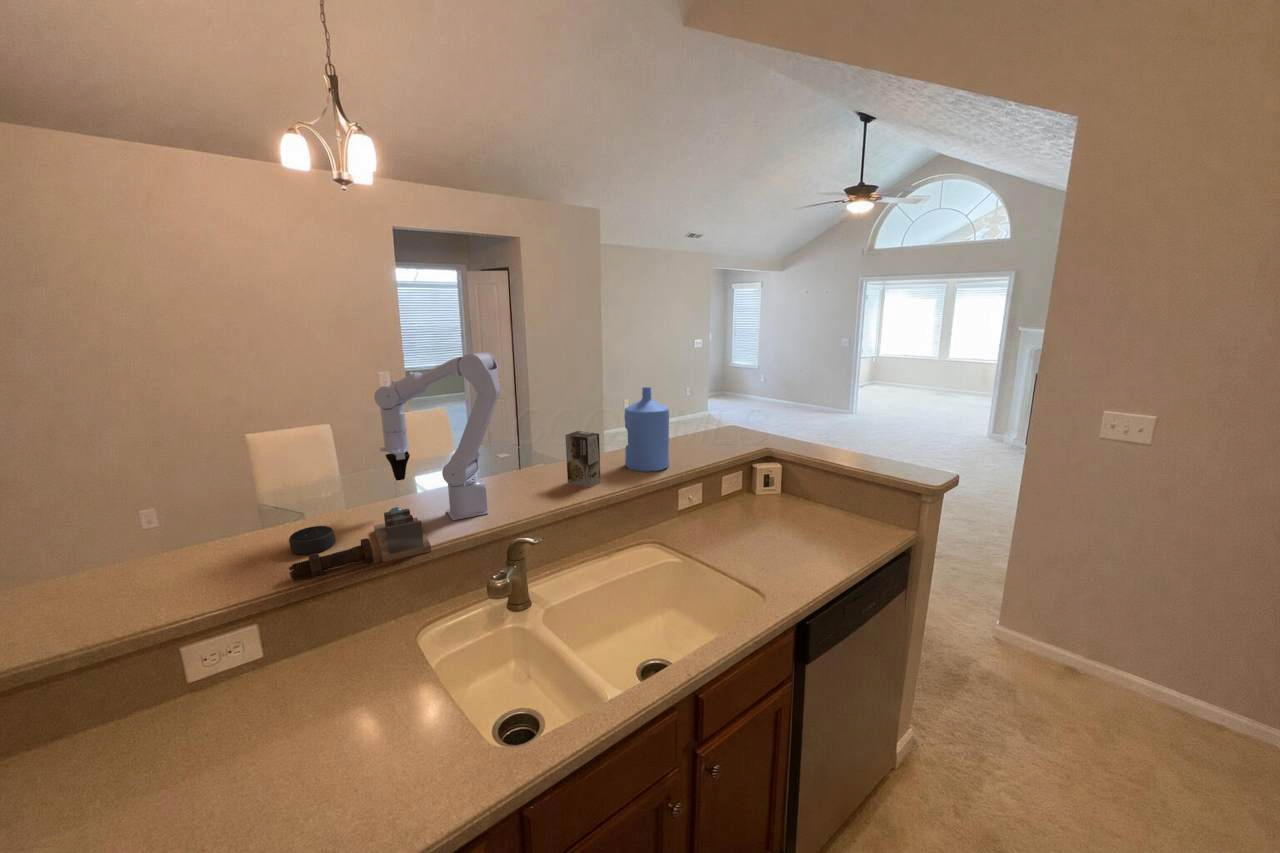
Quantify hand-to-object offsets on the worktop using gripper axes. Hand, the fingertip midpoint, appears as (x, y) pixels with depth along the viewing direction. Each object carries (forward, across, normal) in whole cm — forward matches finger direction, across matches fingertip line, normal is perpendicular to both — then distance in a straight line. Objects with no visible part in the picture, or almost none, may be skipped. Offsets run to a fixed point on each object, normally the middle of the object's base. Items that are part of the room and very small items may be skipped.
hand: (400, 479), depth 141 cm
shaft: (+7, +20, -3) cm, 22 cm away
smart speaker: (+10, +13, -21) cm, 27 cm away
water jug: (+10, -2, +80) cm, 81 cm away
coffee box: (+10, +3, +53) cm, 54 cm away
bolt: (+10, +28, -17) cm, 35 cm away
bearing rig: (+9, +20, -3) cm, 22 cm away
